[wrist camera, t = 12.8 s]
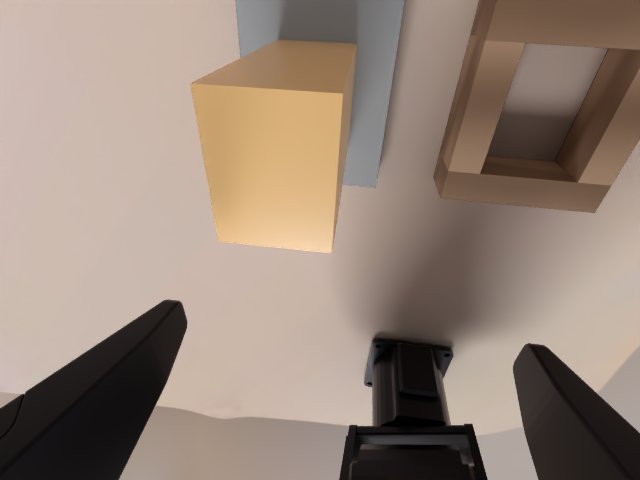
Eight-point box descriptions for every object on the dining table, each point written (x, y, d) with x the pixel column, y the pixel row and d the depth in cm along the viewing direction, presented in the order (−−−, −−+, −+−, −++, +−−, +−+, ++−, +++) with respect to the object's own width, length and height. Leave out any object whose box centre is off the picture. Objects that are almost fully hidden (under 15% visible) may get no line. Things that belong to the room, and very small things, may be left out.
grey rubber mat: (375, 175, 20) (375, 187, 19) (257, 165, 20) (250, 175, 19) (404, -19, 14) (407, -20, 13) (244, -26, 15) (233, -28, 14)
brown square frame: (571, 189, 19) (594, 212, 17) (433, 176, 19) (440, 198, 17) (670, 2, 14) (721, 4, 12) (481, -8, 14) (499, -8, 12)
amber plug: (348, 144, 17) (331, 253, 10) (281, 139, 18) (218, 241, 10) (356, 43, 15) (343, 93, 8) (277, 39, 15) (189, 83, 8)
